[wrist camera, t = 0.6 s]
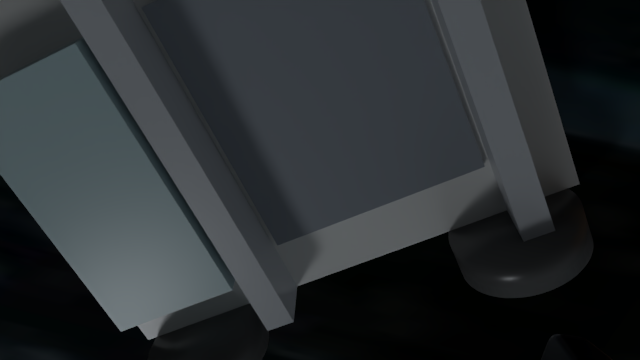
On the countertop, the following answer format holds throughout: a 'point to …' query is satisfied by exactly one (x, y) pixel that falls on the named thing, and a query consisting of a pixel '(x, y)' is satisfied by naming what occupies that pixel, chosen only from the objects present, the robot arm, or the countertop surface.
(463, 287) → the countertop surface
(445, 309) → the countertop surface
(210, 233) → the chassis
